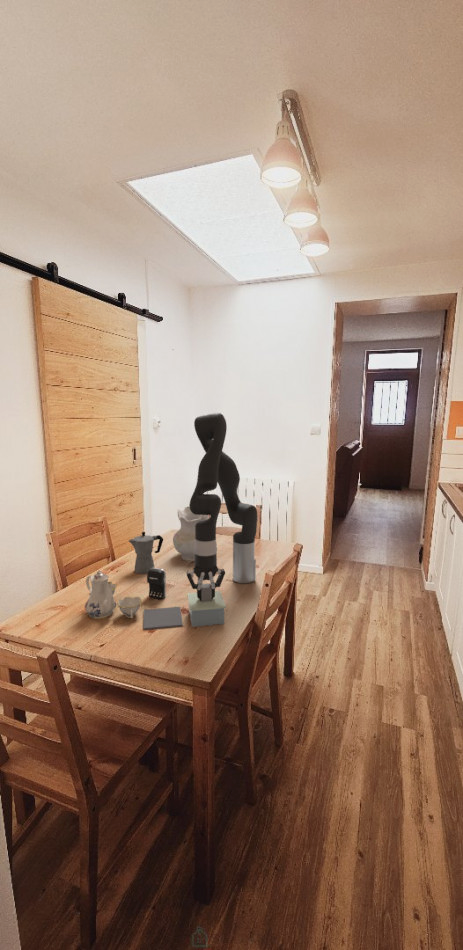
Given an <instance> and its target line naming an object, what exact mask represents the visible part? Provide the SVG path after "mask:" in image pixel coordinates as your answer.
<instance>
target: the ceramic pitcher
mask: <svg viewBox="0 0 463 950" xmlns="http://www.w3.org/2000/svg"><path fill="white" fill-rule="evenodd" d="M177 517H178V520H179V522H180V528H179V530H176V532H175V533H174V534H173V536H172V543H173V547H174V549H175V550H176V552H178V553H179V554H180V555H181V559H182V560H184V561H187V562H189V561H191V562H195V525H196V523H197V522H199V521H203V520H207V519H209V518H210V516H209V515H195V514H193V513H192V512H191V510H190V507H189V506H186V507H184V509H182V510H180V509H177Z"/></svg>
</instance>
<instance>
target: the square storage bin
mask: <svg viewBox="0 0 463 950" xmlns="http://www.w3.org/2000/svg"><path fill="white" fill-rule="evenodd" d="M188 606H189V605H188ZM188 612H189V618H190V624H191V628H194V627H206V626H205V625H208V626H214V625H213V624H219V625H225V608H221V609H209V610H197V611H190V606H189V607H188Z"/></svg>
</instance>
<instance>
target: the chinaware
mask: <svg viewBox="0 0 463 950" xmlns="http://www.w3.org/2000/svg"><path fill="white" fill-rule="evenodd" d="M86 577H87V578H86V580H85V584H86V587H87V589H88V591H89V594H88V595H89V597H88V599H87V601H86V602H85V605H84V609H85V612H86V613H87V615H88V616H89V617H90V618H91V619H96V620H101V619H105V618H108V617H110V616H112V615H113V613H114V610H115V609H116V608H117V606H118V608H119V610H120V612H121V613H122V614H123V615H125V618H127V619H128V618H130V619H133V618H134V616H135V615H136V613H138V611H139V609H140V605H142V603H143V602H142V598H141V597H140V596H136V597H133V596H130V595H129V596H128V595H127V596H126V597H124V598H123V599H118V600H117V601H115V600H114V598H115V597H114V594H115V592H116V591H115V590H116V588H117V587H118V584H116V583H113V582H112V581H109V575H108V574H104V573H103V572H102V571H101V570H97V572H96V573H95V574H94V575H88V576H86ZM89 580H90V581H89ZM90 583H91V586H90ZM116 602H117V603H116Z"/></svg>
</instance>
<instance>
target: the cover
mask: <svg viewBox="0 0 463 950" xmlns="http://www.w3.org/2000/svg"><path fill="white" fill-rule="evenodd" d="M186 596H187V600H188V601H187V602H188V606H190V611H197V610H209V609H221V608H224V609H226V608H227V605H226V602H225V600H224V597H223V595H222V592H221V590H215V597H213V599H212V587H211V584H210V582H209V583H202V586H201V600H199V598H198V597H197V592H187V595H186Z"/></svg>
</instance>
